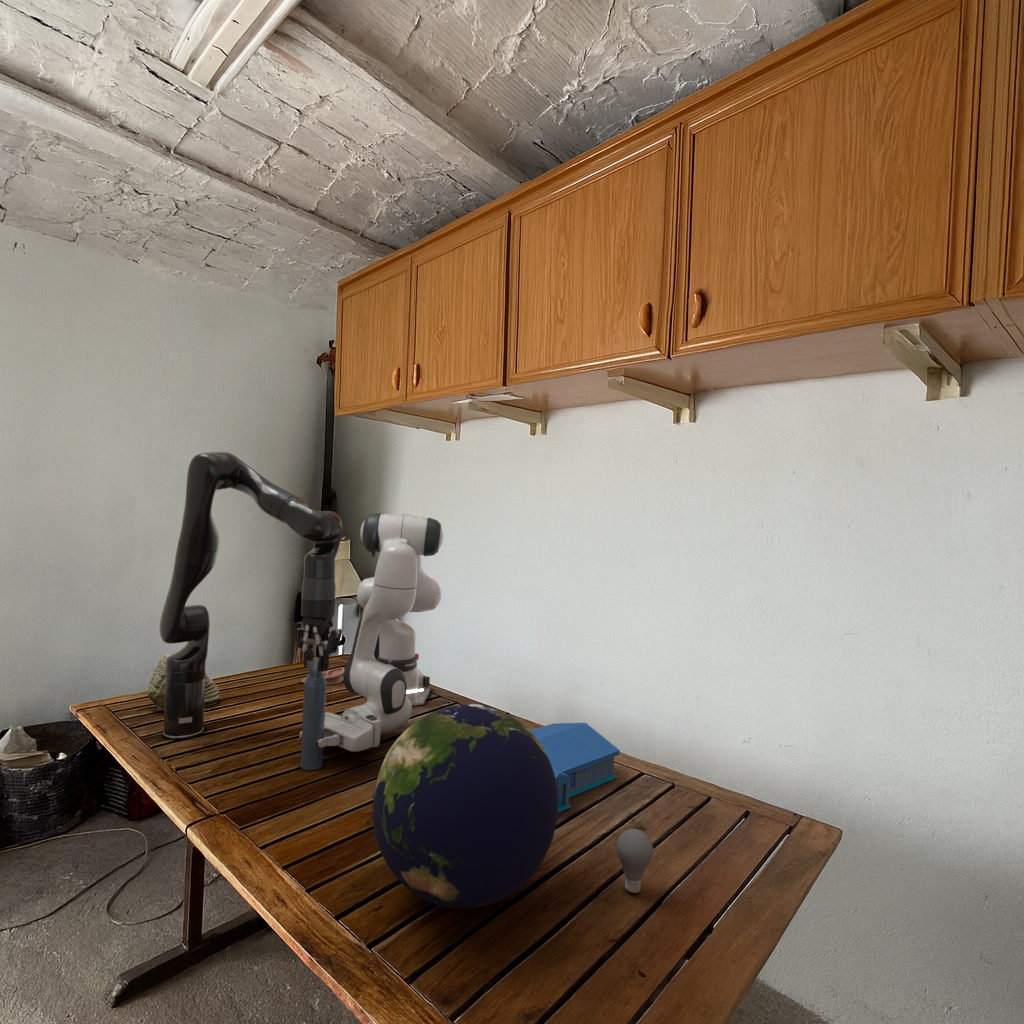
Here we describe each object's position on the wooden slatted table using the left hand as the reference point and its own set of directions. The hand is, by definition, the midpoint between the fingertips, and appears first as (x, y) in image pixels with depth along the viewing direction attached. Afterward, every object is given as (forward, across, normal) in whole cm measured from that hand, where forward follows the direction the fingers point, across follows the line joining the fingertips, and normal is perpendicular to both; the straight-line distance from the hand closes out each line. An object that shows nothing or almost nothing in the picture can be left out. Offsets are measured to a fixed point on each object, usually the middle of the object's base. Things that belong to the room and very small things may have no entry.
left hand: (315, 668), depth 148 cm
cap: (-2, 0, 0) cm, 2 cm away
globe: (+23, +56, -20) cm, 64 cm away
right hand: (+17, 0, -1) cm, 17 cm away
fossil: (+23, -61, +7) cm, 65 cm away
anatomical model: (+23, -48, +49) cm, 73 cm away
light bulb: (+23, +80, -4) cm, 83 cm away
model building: (+23, +48, +20) cm, 56 cm away
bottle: (+23, 0, 0) cm, 23 cm away
